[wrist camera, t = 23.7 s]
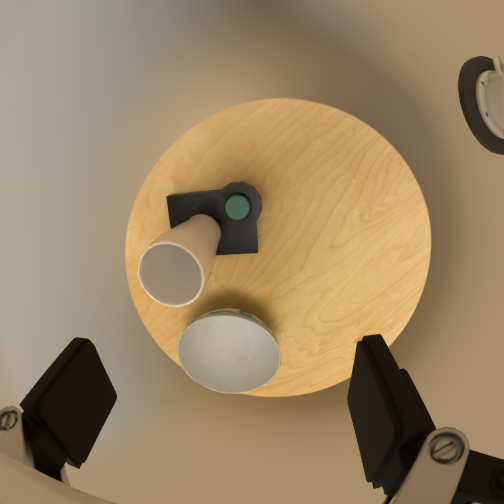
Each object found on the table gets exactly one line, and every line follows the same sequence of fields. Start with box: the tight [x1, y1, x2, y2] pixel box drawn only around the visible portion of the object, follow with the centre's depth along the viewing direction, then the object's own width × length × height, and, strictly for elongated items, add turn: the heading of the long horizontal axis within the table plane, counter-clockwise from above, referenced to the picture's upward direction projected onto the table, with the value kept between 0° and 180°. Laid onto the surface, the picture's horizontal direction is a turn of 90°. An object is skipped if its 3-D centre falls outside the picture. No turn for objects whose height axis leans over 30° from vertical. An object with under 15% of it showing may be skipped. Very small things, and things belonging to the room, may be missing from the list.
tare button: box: [225, 194, 250, 220], centre depth 36 cm, size 3×3×2 cm
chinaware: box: [177, 308, 281, 393], centre depth 43 cm, size 15×15×8 cm
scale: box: [166, 182, 262, 255], centre depth 39 cm, size 10×13×3 cm
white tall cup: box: [137, 214, 221, 307], centre depth 32 cm, size 7×7×15 cm
